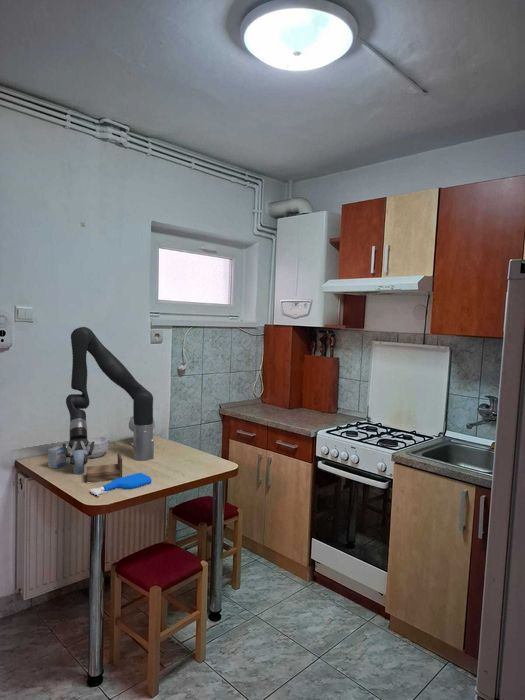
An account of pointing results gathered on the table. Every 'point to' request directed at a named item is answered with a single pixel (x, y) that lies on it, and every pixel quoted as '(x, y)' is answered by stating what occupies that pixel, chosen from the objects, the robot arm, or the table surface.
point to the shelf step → (105, 471)
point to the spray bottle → (124, 483)
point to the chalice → (131, 426)
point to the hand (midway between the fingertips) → (79, 463)
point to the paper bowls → (98, 446)
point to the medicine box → (56, 457)
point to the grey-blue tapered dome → (78, 461)
